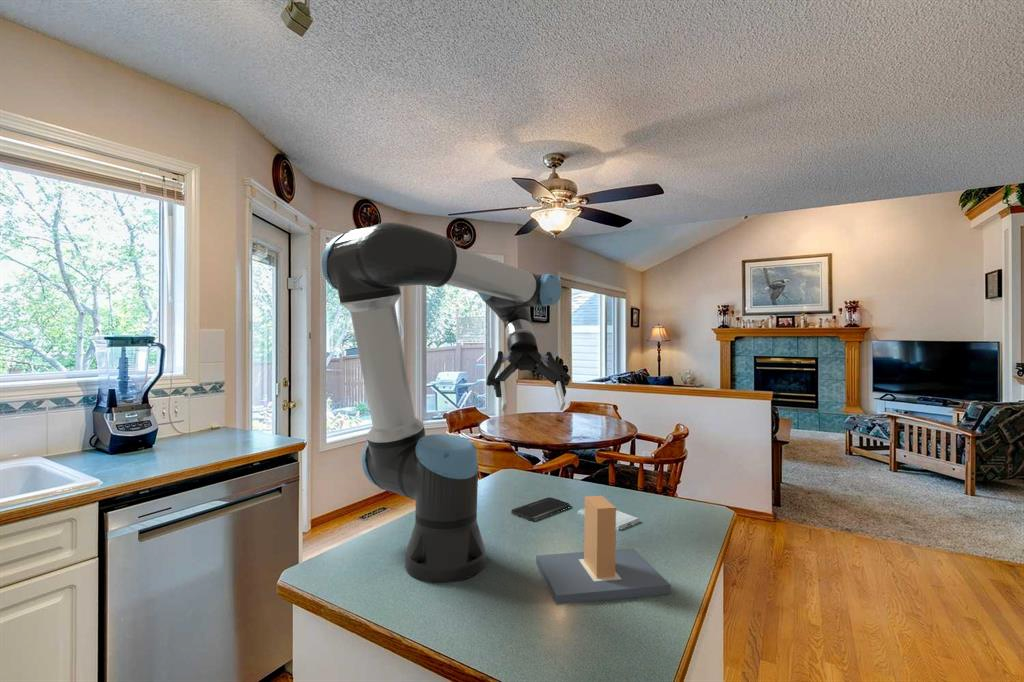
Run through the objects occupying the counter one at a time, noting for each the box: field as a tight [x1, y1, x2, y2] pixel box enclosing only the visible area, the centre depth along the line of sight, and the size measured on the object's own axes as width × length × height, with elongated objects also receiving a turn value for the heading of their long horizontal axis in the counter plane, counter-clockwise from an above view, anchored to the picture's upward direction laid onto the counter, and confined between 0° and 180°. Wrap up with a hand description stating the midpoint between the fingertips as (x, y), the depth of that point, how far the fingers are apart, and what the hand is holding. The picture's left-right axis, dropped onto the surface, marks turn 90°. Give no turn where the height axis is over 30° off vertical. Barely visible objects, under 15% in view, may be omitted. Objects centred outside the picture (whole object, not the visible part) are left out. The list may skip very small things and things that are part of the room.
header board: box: [535, 547, 671, 606], centre depth 82 cm, size 20×14×4 cm
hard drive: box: [577, 507, 641, 531], centre depth 110 cm, size 2×8×12 cm
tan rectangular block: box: [583, 495, 617, 578], centre depth 82 cm, size 3×6×12 cm, turn 11°
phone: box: [510, 497, 571, 522], centre depth 115 cm, size 8×1×15 cm
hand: (534, 407), depth 103 cm, fingers open, 13 cm apart
